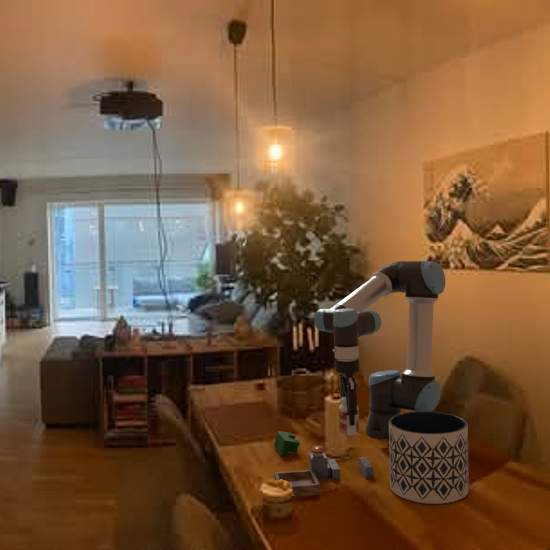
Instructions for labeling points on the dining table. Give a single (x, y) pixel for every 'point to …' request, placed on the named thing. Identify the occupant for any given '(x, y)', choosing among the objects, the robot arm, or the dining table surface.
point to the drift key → (317, 451)
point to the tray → (301, 482)
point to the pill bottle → (344, 417)
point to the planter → (428, 457)
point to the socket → (335, 467)
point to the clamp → (286, 443)
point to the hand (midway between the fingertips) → (349, 431)
